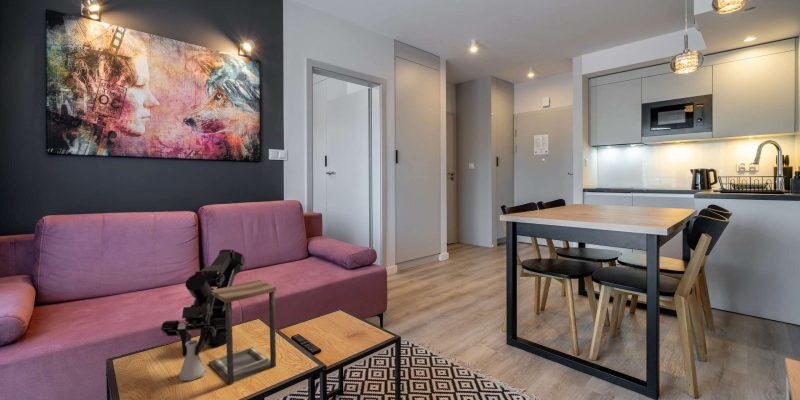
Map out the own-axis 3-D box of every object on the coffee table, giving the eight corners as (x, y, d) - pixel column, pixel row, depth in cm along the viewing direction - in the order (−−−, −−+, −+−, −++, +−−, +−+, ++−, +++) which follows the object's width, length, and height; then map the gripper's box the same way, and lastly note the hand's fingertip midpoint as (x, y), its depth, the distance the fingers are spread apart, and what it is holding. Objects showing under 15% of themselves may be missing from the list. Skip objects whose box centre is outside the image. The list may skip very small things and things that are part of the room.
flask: (177, 384, 104) (176, 350, 103) (179, 372, 110) (178, 340, 110) (206, 377, 107) (205, 344, 107) (206, 366, 114) (205, 335, 113)
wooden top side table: (206, 364, 115) (204, 286, 113) (253, 348, 126) (251, 276, 124) (228, 386, 103) (225, 299, 102) (277, 366, 114) (276, 287, 112)
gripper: (162, 295, 110) (143, 347, 100) (227, 292, 112) (216, 343, 102) (175, 311, 118) (159, 361, 108) (236, 308, 121) (226, 356, 111)
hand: (190, 355), depth 107 cm, fingers closed on flask, 3 cm apart
